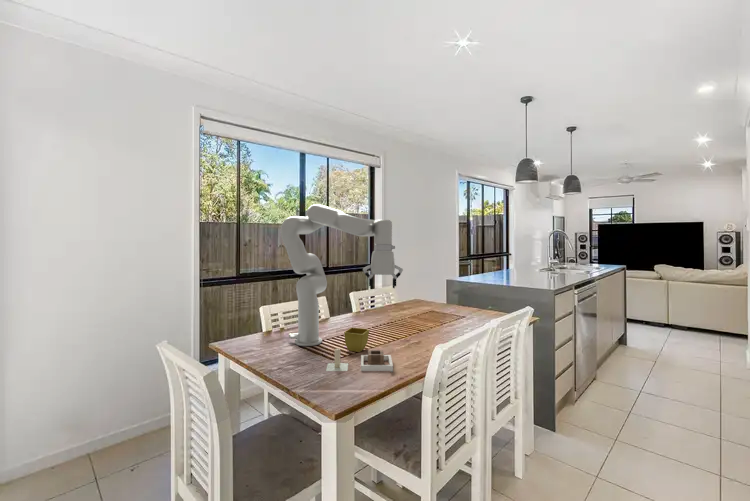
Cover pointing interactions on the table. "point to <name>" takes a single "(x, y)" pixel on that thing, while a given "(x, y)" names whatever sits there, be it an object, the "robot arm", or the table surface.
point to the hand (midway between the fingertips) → (382, 287)
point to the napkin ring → (375, 357)
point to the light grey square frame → (377, 367)
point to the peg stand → (337, 363)
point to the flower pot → (356, 339)
